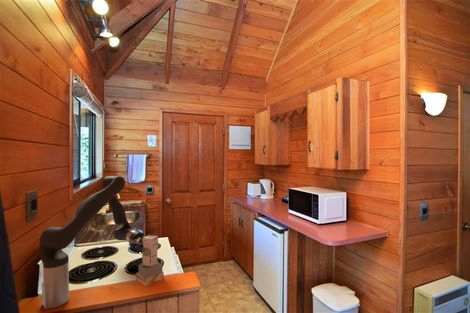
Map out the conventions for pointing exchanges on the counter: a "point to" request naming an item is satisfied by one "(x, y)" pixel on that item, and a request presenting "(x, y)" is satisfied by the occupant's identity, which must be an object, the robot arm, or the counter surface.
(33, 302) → the counter surface
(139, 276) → the tower base
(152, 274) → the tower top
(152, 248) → the pinkish brown brick pillar
